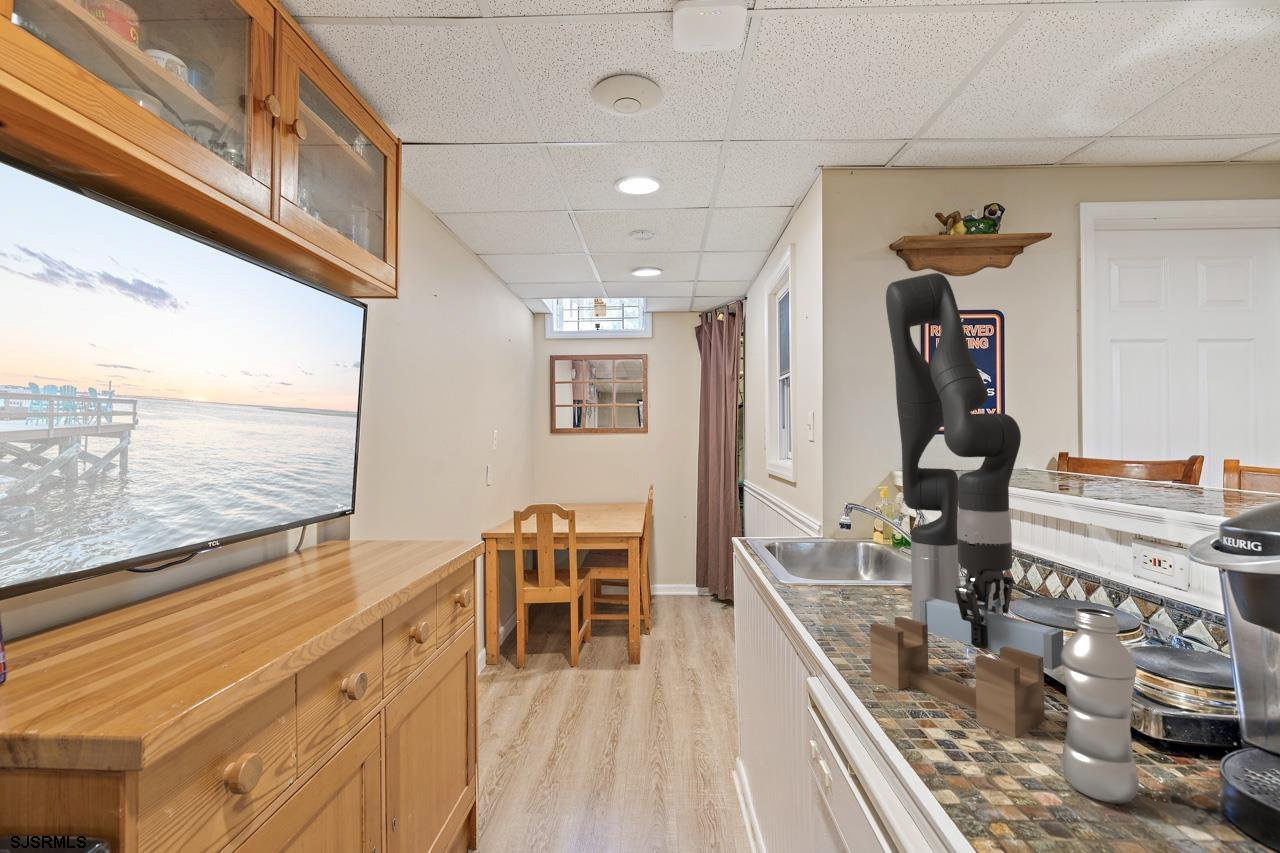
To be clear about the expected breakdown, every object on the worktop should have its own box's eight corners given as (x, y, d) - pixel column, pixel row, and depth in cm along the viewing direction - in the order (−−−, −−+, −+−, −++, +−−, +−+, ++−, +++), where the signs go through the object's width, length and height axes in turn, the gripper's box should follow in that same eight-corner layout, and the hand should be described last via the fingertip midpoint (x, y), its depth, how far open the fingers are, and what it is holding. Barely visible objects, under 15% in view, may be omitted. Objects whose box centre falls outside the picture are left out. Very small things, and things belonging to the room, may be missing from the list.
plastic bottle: (1067, 769, 68) (1063, 600, 68) (1143, 794, 63) (1138, 612, 64) (1056, 793, 63) (1052, 611, 64) (1137, 822, 59) (1131, 625, 59)
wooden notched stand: (900, 669, 98) (900, 616, 98) (1044, 722, 79) (1043, 657, 80) (870, 679, 94) (870, 624, 94) (1015, 738, 75) (1013, 668, 75)
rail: (932, 625, 101) (932, 597, 101) (1063, 663, 84) (1063, 629, 84) (920, 630, 99) (919, 601, 99) (1051, 670, 82) (1051, 635, 82)
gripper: (982, 529, 99) (984, 629, 99) (936, 538, 91) (938, 646, 91) (1030, 535, 93) (1033, 642, 92) (985, 546, 85) (988, 662, 85)
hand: (986, 643), depth 92 cm, fingers closed on rail, 3 cm apart
